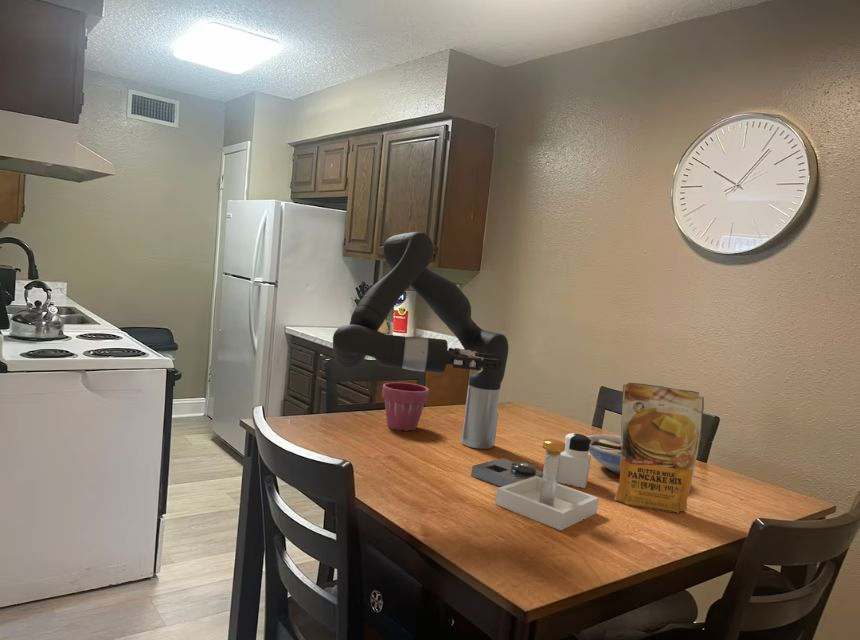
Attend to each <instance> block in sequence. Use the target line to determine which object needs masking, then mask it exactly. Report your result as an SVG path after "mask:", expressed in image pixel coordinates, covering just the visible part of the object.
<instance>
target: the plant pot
mask: <svg viewBox="0 0 860 640" xmlns="http://www.w3.org/2000/svg"><path fill="white" fill-rule="evenodd" d="M429 390H430V389H429V388H428V387H427V386H424V385H421V384H418V383H417V384H416V383H413V382H412V383H410V382H402V381H401V382H400V381H399V382H397V381H394V382H387V383H383V385H382V391H381V397H382V398H383V399H384V408H385V416H386V418H385V419H386V426H387V427H388V428H390V429H391V430H395V429H396V431H401V430H404V431H405V432H407V431H408V430H409V432H411V431H410V430H412V431H415V430H416V429H417V428H418V424H419V421H420V418H421V415H422V413H423V410H424V407H425V403H427V402H428V401H429V395H430V394H429V393H430V391H429ZM404 431H403V432H404Z"/></svg>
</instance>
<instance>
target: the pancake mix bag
mask: <svg viewBox="0 0 860 640" xmlns="http://www.w3.org/2000/svg"><path fill="white" fill-rule="evenodd" d="M704 402H705V401H704V396H700V392H699V391H694V390H687V389H677V388H671V387H667V386H662V385H661V386H660V385H656V384H655V385H654V384H646V383H639V382H636V383H635V382H627V383H626V384H623V385H622V396H621V411H622V412H621V421H620V423H621V424H620V425H621V427H620V436H621V444H622V450H621V460H620V474H619V481H618V482H619V483H618V488H617V491H616V493H615V496H614V499H613V500H614V501H615V502H621V503H622V504H623V505H626V504H627V506H630V505H632V507H635V506H637V507H636V508H641V507H643V508H642V509H646V508H651V509H650V510H652V509H657V510H656V511H660V510H663V511H662V512H665V511H670V512H669V513H671V512H678V513H677V514H680V513H681V512H680V511H687V512H688V502H687V501H688V498H689V493H690V489H691V486H692V481H693V476H694V472H695V466H696V464H697V463H696V461H697V458H698V453H699V447H700V444H701V443H700V442H701V437H702V428H703V427H702V426H703V415H704V409H705V407H704V405H705V403H704ZM679 512H680V513H679Z"/></svg>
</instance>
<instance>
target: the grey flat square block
mask: <svg viewBox="0 0 860 640" xmlns="http://www.w3.org/2000/svg"><path fill="white" fill-rule="evenodd" d="M534 476H538V477H541V478H542V476H543V471H542V470H539V469H537V467H536V465H534V464H531V463H528V462H523V461H512V460H510V459H508V458H507V459H506V458H503V457H501V458H498V459H494V460H490V461H486V462H482V463H477V464H475V465H472V467H471V474H470V477H473V478H475V479H479V480H481V481H483V482H486V483H489V484H491V485H494V486H497V487H498V488H500V487H503V486H506V485H509V484H512V483H515V482H518V481H521V480H524V479H528V478H531V477H534Z"/></svg>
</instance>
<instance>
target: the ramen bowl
mask: <svg viewBox="0 0 860 640" xmlns="http://www.w3.org/2000/svg"><path fill="white" fill-rule="evenodd" d="M586 436H587V435H586ZM587 437H588V438H589V439H590V446H589V454H591V457H592V458H593V459H594V460H596V461H597V462H598V463H599V464H600V465H602V466H603V467H605V468H606V469H609V471H610V472H612V473H614V474H617V475H620V460H621V450H622V444H621V435H611V434H592V435H588V436H587Z"/></svg>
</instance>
